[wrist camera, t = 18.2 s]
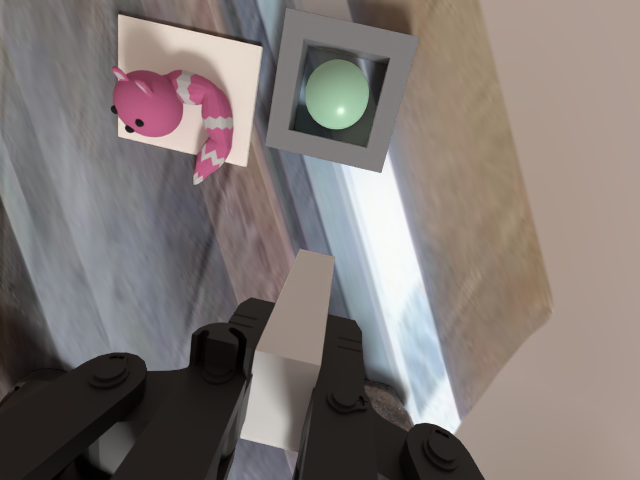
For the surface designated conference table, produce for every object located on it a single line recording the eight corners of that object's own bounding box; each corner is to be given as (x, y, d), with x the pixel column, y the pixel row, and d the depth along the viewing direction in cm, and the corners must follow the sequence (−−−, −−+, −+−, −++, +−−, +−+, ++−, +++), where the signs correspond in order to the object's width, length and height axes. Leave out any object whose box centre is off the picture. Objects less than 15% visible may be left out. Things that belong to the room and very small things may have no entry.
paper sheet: (120, 136, 37) (118, 136, 36) (120, 15, 32) (118, 14, 32) (246, 166, 36) (245, 166, 36) (263, 47, 32) (261, 46, 32)
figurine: (425, 415, 45) (467, 587, 28) (365, 453, 49) (371, 626, 32) (358, 357, 43) (360, 505, 26) (301, 402, 47) (270, 557, 30)
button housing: (272, 144, 35) (265, 145, 32) (292, 18, 31) (286, 7, 28) (379, 169, 35) (381, 173, 32) (413, 45, 31) (419, 37, 28)
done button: (304, 122, 34) (299, 121, 31) (316, 59, 32) (312, 52, 29) (359, 135, 34) (359, 135, 31) (374, 72, 32) (376, 67, 29)
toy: (131, 149, 37) (70, 88, 27) (177, 93, 39) (135, 17, 29) (213, 195, 36) (180, 149, 26) (256, 135, 38) (240, 72, 28)
